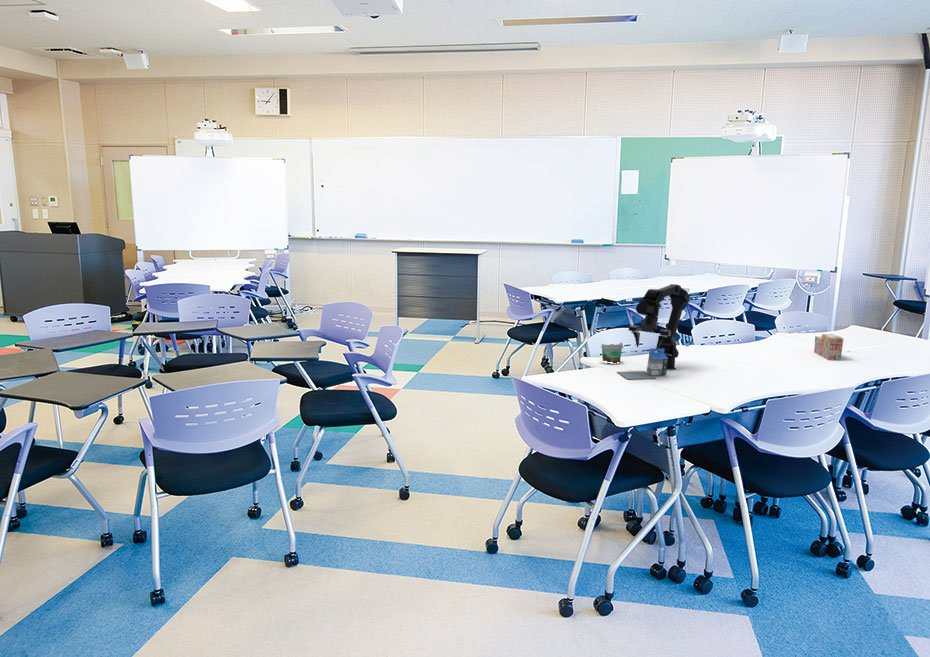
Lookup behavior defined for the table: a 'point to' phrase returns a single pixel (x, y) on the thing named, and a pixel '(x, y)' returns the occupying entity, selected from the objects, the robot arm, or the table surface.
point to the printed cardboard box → (829, 346)
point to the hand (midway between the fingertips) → (647, 348)
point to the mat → (635, 375)
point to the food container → (611, 352)
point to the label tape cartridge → (657, 363)
